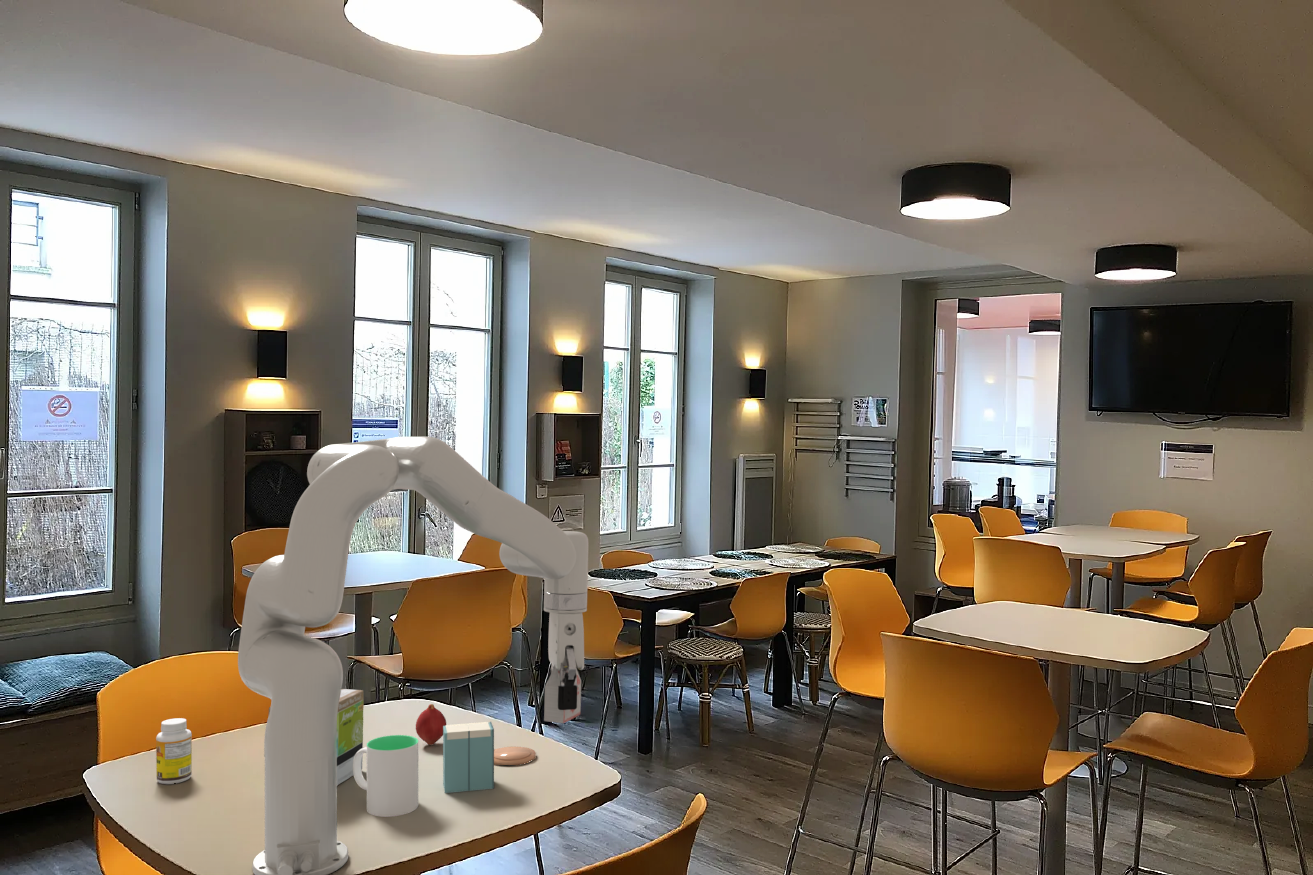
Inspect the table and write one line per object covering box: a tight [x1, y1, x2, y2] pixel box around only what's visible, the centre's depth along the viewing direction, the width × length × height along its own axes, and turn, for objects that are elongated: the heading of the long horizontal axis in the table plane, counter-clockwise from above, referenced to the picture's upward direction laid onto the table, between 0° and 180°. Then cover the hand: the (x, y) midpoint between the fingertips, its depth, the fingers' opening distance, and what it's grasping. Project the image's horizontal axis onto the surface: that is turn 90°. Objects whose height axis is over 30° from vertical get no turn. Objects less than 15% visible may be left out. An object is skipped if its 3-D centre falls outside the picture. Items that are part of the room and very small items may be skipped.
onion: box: [415, 703, 447, 746], centre depth 192 cm, size 6×6×8 cm
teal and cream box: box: [442, 721, 495, 794], centre depth 170 cm, size 4×8×10 cm, turn 105°
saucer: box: [494, 746, 537, 766], centre depth 184 cm, size 9×9×1 cm
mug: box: [353, 734, 419, 818], centre depth 161 cm, size 12×8×10 cm, turn 67°
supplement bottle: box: [155, 717, 193, 785], centre depth 173 cm, size 6×6×10 cm
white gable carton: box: [543, 664, 582, 724], centre depth 174 cm, size 4×7×10 cm, turn 159°
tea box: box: [267, 688, 365, 786], centre depth 172 cm, size 15×10×15 cm, turn 168°
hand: (562, 702), depth 173 cm, fingers closed on white gable carton, 7 cm apart
